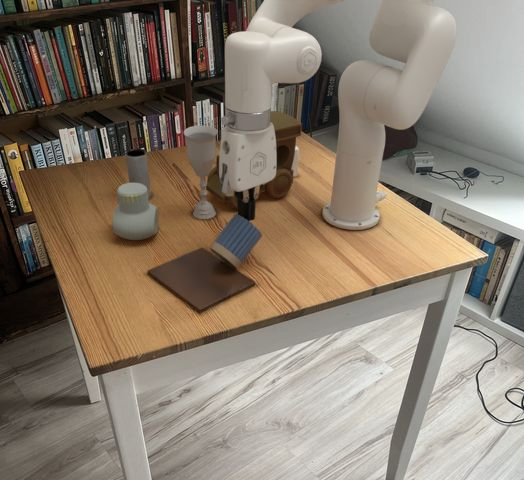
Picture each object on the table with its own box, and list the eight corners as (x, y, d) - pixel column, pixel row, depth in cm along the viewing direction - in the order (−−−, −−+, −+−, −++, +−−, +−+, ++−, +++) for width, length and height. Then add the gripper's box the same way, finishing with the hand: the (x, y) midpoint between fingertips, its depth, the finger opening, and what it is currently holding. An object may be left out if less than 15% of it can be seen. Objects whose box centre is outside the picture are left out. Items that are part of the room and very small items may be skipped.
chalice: (214, 223, 122) (212, 140, 110) (184, 219, 123) (178, 136, 111) (223, 207, 127) (221, 127, 115) (194, 204, 128) (189, 123, 116)
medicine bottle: (262, 168, 144) (263, 120, 136) (288, 165, 145) (291, 117, 138) (270, 179, 139) (272, 130, 131) (297, 176, 140) (301, 128, 132)
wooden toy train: (272, 177, 140) (275, 107, 129) (300, 194, 133) (305, 123, 122) (202, 195, 131) (198, 123, 120) (227, 215, 124) (226, 140, 113)
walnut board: (202, 250, 113) (202, 247, 113) (255, 285, 104) (255, 281, 104) (147, 274, 106) (147, 270, 106) (199, 313, 98) (199, 309, 97)
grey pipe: (153, 198, 129) (148, 155, 123) (133, 201, 128) (127, 157, 121) (148, 190, 133) (143, 147, 126) (129, 193, 131) (123, 149, 124)
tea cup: (242, 225, 110) (229, 208, 104) (266, 240, 108) (255, 225, 102) (217, 257, 110) (203, 243, 104) (241, 274, 108) (229, 260, 101)
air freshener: (122, 220, 122) (115, 176, 115) (160, 220, 122) (156, 176, 115) (113, 246, 113) (105, 200, 107) (154, 247, 114) (149, 201, 107)
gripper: (227, 134, 87) (228, 238, 99) (295, 114, 95) (288, 213, 107) (198, 120, 91) (202, 222, 103) (265, 103, 99) (261, 199, 111)
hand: (246, 217), depth 105 cm, fingers closed
